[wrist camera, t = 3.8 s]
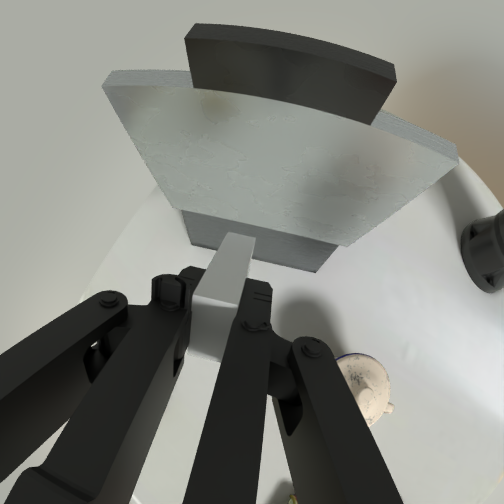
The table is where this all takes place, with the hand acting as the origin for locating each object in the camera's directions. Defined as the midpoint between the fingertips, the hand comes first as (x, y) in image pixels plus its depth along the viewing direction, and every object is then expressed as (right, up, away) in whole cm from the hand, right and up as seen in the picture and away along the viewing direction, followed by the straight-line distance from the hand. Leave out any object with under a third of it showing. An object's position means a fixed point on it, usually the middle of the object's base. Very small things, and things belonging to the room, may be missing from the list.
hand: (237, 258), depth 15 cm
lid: (+2, +6, +3) cm, 7 cm away
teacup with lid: (+12, -19, +18) cm, 29 cm away
